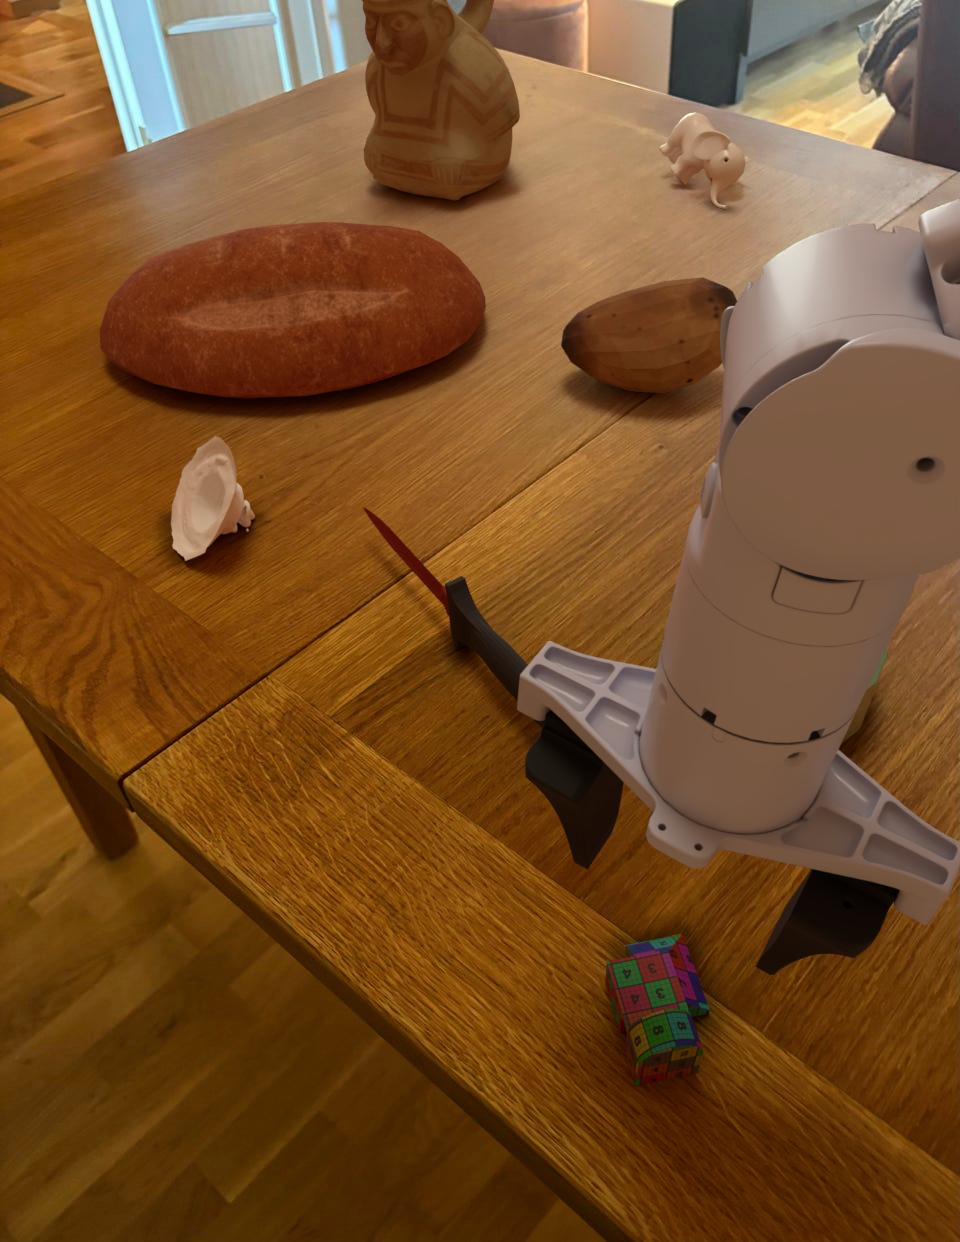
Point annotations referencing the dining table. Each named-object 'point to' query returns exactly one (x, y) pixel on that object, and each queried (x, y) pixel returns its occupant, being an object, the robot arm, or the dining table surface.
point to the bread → (291, 310)
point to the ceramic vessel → (436, 98)
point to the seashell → (207, 500)
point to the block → (658, 1008)
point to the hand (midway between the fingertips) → (680, 896)
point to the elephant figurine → (704, 154)
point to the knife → (463, 617)
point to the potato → (651, 335)
